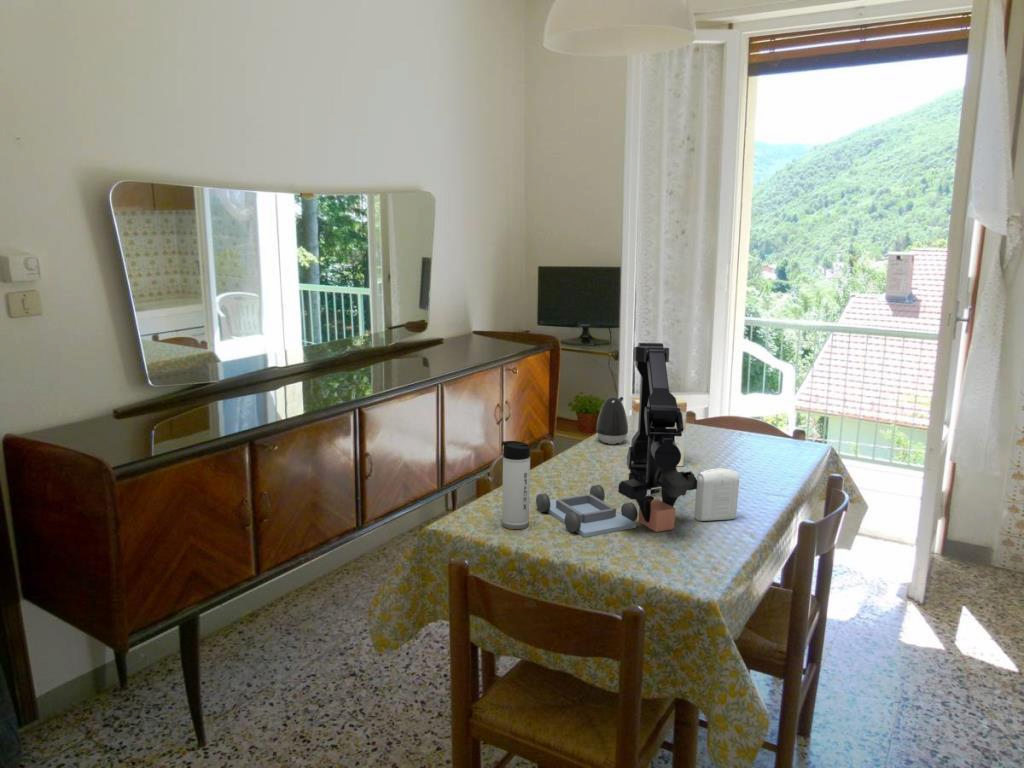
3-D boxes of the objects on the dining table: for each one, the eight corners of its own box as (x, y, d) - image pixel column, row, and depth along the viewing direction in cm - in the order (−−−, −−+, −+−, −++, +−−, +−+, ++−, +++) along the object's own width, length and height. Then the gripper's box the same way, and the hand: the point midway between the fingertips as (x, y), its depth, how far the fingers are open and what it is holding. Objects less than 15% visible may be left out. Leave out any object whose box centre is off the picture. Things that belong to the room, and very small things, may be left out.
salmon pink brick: (656, 518, 182) (657, 498, 181) (674, 528, 175) (675, 508, 174) (638, 521, 180) (639, 501, 179) (656, 532, 173) (657, 511, 172)
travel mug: (499, 520, 179) (500, 438, 176) (527, 519, 180) (529, 438, 176) (501, 530, 173) (502, 446, 169) (530, 529, 174) (531, 445, 170)
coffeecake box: (678, 460, 230) (681, 397, 226) (684, 467, 223) (687, 402, 219) (628, 459, 229) (631, 396, 225) (633, 466, 222) (636, 401, 218)
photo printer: (730, 513, 186) (733, 465, 184) (739, 519, 182) (742, 470, 179) (691, 516, 184) (694, 467, 181) (699, 523, 180) (702, 473, 177)
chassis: (591, 496, 196) (591, 480, 195) (641, 526, 177) (642, 508, 176) (532, 506, 189) (532, 489, 188) (578, 538, 169) (579, 519, 169)
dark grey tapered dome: (633, 442, 248) (635, 396, 245) (616, 448, 241) (617, 401, 238) (607, 436, 255) (609, 392, 252) (589, 442, 247) (591, 396, 244)
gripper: (647, 470, 163) (644, 539, 166) (715, 460, 171) (710, 525, 174) (618, 456, 173) (615, 521, 176) (683, 447, 181) (679, 509, 184)
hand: (656, 520), depth 177 cm, fingers closed on salmon pink brick, 5 cm apart
